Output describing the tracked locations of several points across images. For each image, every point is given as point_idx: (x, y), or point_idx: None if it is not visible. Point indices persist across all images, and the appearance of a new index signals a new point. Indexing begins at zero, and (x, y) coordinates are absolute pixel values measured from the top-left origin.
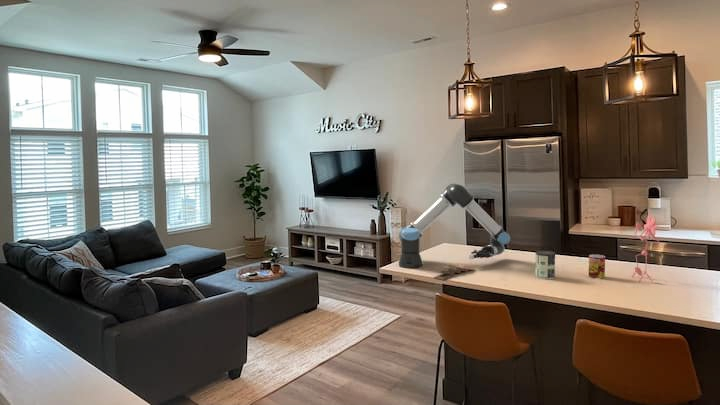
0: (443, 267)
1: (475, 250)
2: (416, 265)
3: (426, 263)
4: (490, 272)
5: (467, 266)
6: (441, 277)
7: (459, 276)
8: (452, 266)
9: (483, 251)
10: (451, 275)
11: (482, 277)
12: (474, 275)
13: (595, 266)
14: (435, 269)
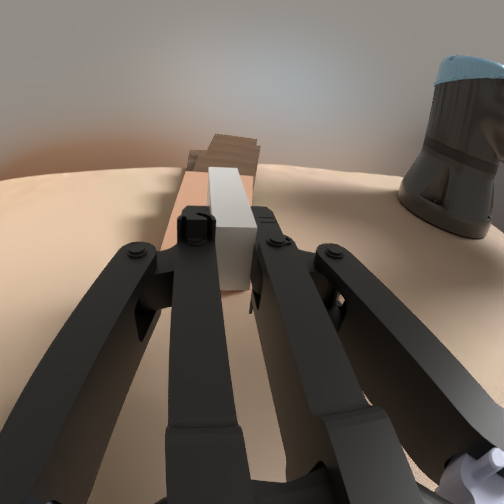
0: (239, 144)
1: (501, 429)
2: (401, 190)
3: (472, 255)
4: (28, 293)
5: (176, 199)
6: (205, 153)
7: (167, 185)
8: (226, 158)
9: (191, 430)
10: (192, 168)
11: (62, 210)
12: (108, 214)
13: None
14: (247, 138)
